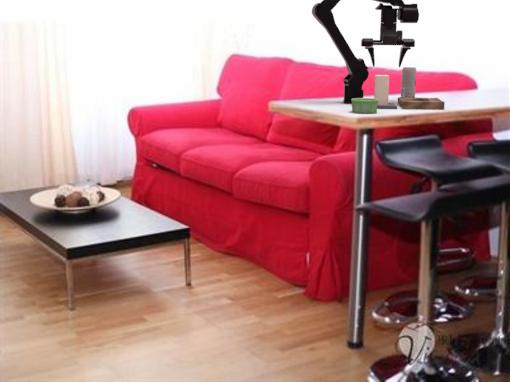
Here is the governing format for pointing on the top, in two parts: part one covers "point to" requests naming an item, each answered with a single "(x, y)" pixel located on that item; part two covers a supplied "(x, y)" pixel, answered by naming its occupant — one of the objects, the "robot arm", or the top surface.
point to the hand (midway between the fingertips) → (386, 66)
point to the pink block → (381, 89)
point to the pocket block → (421, 103)
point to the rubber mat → (387, 106)
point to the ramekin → (364, 105)
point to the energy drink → (408, 82)
